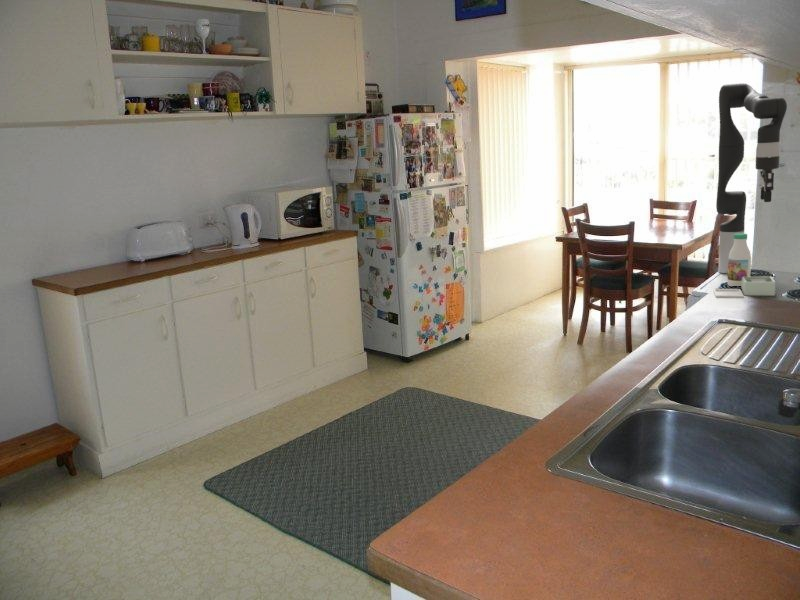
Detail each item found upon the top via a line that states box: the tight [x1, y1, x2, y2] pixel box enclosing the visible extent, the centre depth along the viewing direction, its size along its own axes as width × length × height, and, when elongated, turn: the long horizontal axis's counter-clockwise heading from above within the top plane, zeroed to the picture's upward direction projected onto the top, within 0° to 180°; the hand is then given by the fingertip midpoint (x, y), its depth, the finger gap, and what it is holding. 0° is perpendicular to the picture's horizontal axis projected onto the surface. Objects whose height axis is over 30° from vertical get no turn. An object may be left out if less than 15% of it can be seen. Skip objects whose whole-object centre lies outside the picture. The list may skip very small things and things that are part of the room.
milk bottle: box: [727, 232, 752, 287], centre depth 261 cm, size 8×8×20 cm
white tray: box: [712, 288, 745, 299], centre depth 251 cm, size 11×9×1 cm
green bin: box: [740, 276, 776, 297], centre depth 250 cm, size 10×10×5 cm
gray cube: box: [750, 279, 766, 282], centre depth 250 cm, size 5×5×5 cm
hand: (765, 200), depth 253 cm, fingers open, 8 cm apart
